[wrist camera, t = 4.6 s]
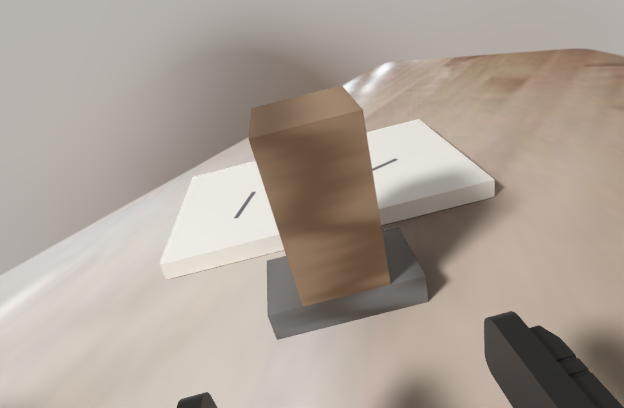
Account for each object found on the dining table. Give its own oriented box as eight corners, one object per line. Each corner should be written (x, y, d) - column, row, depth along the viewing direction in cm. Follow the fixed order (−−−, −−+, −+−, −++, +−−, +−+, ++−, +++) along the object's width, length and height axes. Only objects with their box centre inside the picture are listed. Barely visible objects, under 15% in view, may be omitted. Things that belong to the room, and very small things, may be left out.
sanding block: (401, 251, 27) (377, 76, 21) (428, 301, 22) (408, 97, 16) (274, 283, 27) (215, 117, 21) (277, 339, 22) (203, 150, 16)
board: (419, 131, 43) (418, 118, 43) (494, 196, 29) (494, 179, 29) (197, 188, 44) (192, 176, 43) (166, 279, 30) (158, 264, 29)
